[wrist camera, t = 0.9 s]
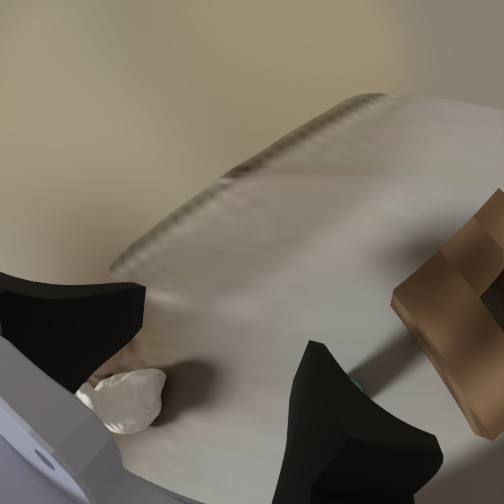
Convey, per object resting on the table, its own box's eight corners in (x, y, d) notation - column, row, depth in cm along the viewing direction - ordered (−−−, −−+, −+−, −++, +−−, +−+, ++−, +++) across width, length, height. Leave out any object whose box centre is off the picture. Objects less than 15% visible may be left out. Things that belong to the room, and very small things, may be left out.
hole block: (566, 317, 11) (588, 304, 8) (474, 433, 12) (492, 441, 9) (487, 213, 19) (498, 187, 16) (390, 305, 20) (393, 289, 17)
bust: (125, 419, 27) (82, 474, 16) (87, 372, 27) (31, 416, 16) (196, 389, 26) (160, 462, 15) (151, 331, 26) (90, 384, 15)
